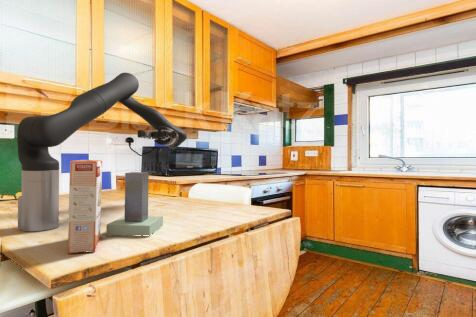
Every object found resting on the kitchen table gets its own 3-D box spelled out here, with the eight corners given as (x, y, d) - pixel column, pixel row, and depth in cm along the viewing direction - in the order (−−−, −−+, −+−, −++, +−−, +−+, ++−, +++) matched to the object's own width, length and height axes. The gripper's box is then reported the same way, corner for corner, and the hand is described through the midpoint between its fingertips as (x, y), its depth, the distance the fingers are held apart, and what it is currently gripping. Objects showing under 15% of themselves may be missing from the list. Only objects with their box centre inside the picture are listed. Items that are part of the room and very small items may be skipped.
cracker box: (97, 252, 66) (98, 160, 65) (66, 255, 63) (67, 160, 63) (102, 235, 79) (103, 159, 78) (77, 237, 76) (78, 159, 76)
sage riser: (106, 235, 79) (106, 224, 79) (125, 225, 91) (125, 215, 91) (149, 236, 79) (149, 225, 79) (162, 225, 91) (162, 216, 91)
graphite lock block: (124, 221, 82) (125, 173, 82) (131, 218, 87) (132, 172, 87) (141, 222, 82) (142, 173, 82) (148, 218, 87) (148, 172, 87)
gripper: (148, 126, 119) (132, 122, 103) (182, 127, 118) (171, 122, 102) (148, 145, 119) (132, 143, 103) (182, 145, 118) (171, 144, 102)
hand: (151, 133), depth 102 cm, fingers open, 8 cm apart
